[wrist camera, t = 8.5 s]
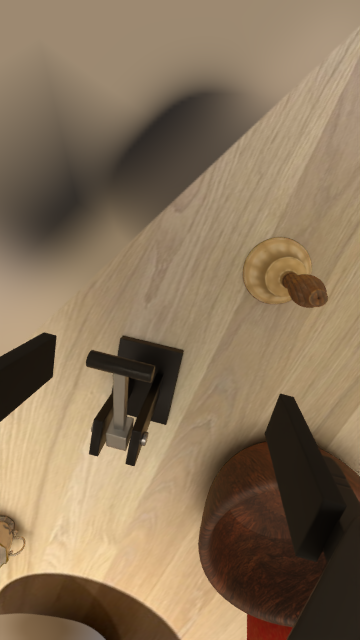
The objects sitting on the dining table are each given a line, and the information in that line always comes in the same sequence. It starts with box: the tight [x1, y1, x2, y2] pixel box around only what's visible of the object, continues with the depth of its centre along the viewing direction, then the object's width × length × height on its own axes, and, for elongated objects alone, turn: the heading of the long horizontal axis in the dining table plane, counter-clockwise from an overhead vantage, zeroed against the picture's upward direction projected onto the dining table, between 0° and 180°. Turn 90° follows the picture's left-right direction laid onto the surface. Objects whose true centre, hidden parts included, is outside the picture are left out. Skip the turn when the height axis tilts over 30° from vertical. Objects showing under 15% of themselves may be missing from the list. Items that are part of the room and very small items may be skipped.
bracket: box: [89, 336, 184, 466], centre depth 35 cm, size 12×9×14 cm
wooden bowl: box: [198, 442, 360, 627], centre depth 40 cm, size 25×25×10 cm
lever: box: [86, 350, 155, 451], centre depth 27 cm, size 13×6×2 cm, turn 168°
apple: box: [247, 614, 293, 640], centre depth 44 cm, size 10×10×14 cm
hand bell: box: [243, 237, 328, 308], centre depth 28 cm, size 8×8×16 cm
